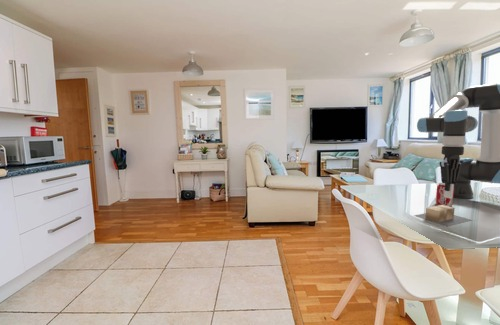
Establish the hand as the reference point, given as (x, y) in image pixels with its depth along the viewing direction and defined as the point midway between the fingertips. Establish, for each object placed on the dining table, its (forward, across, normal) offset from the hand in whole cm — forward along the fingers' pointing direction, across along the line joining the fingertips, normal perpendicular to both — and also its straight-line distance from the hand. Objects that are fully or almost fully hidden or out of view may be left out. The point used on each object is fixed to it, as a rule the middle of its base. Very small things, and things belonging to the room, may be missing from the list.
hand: (448, 197), depth 108 cm
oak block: (+7, -1, 0) cm, 7 cm away
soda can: (+10, -19, -12) cm, 25 cm away
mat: (+10, +3, 0) cm, 10 cm away
